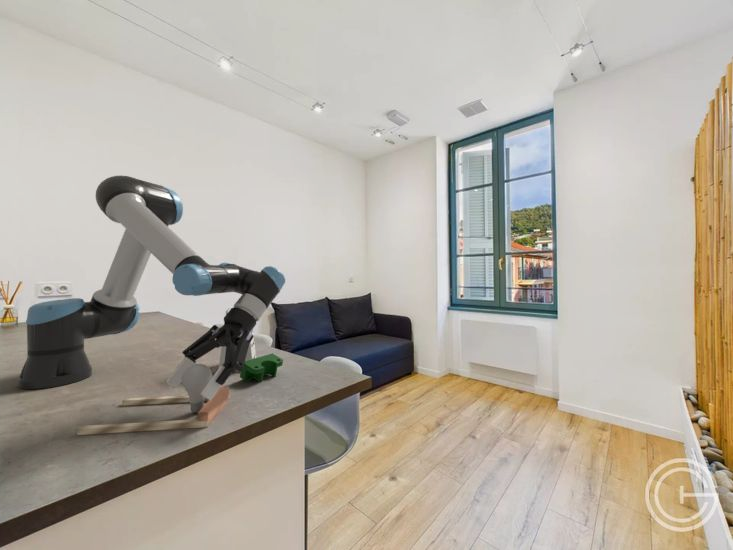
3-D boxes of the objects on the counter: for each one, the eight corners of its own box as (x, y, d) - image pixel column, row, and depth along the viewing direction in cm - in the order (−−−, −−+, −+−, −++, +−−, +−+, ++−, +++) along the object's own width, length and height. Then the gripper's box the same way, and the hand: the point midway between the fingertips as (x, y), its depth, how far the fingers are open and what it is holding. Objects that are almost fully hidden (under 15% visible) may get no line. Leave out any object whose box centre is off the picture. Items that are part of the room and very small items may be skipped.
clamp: (255, 397, 88) (250, 374, 84) (243, 388, 91) (236, 365, 87) (287, 371, 97) (283, 349, 93) (274, 364, 100) (270, 342, 96)
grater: (225, 362, 106) (225, 306, 106) (256, 360, 109) (256, 305, 109) (218, 372, 96) (218, 309, 96) (253, 370, 99) (253, 309, 99)
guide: (77, 435, 59) (77, 419, 59) (125, 403, 73) (125, 391, 73) (207, 427, 62) (207, 412, 62) (229, 398, 77) (229, 386, 77)
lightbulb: (218, 408, 71) (218, 362, 71) (195, 420, 65) (195, 370, 65) (198, 404, 73) (198, 359, 73) (174, 416, 67) (174, 366, 67)
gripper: (286, 328, 76) (234, 411, 63) (224, 319, 88) (169, 387, 75) (270, 309, 71) (209, 394, 58) (206, 303, 84) (145, 372, 71)
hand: (187, 391), depth 67 cm, fingers open, 13 cm apart
